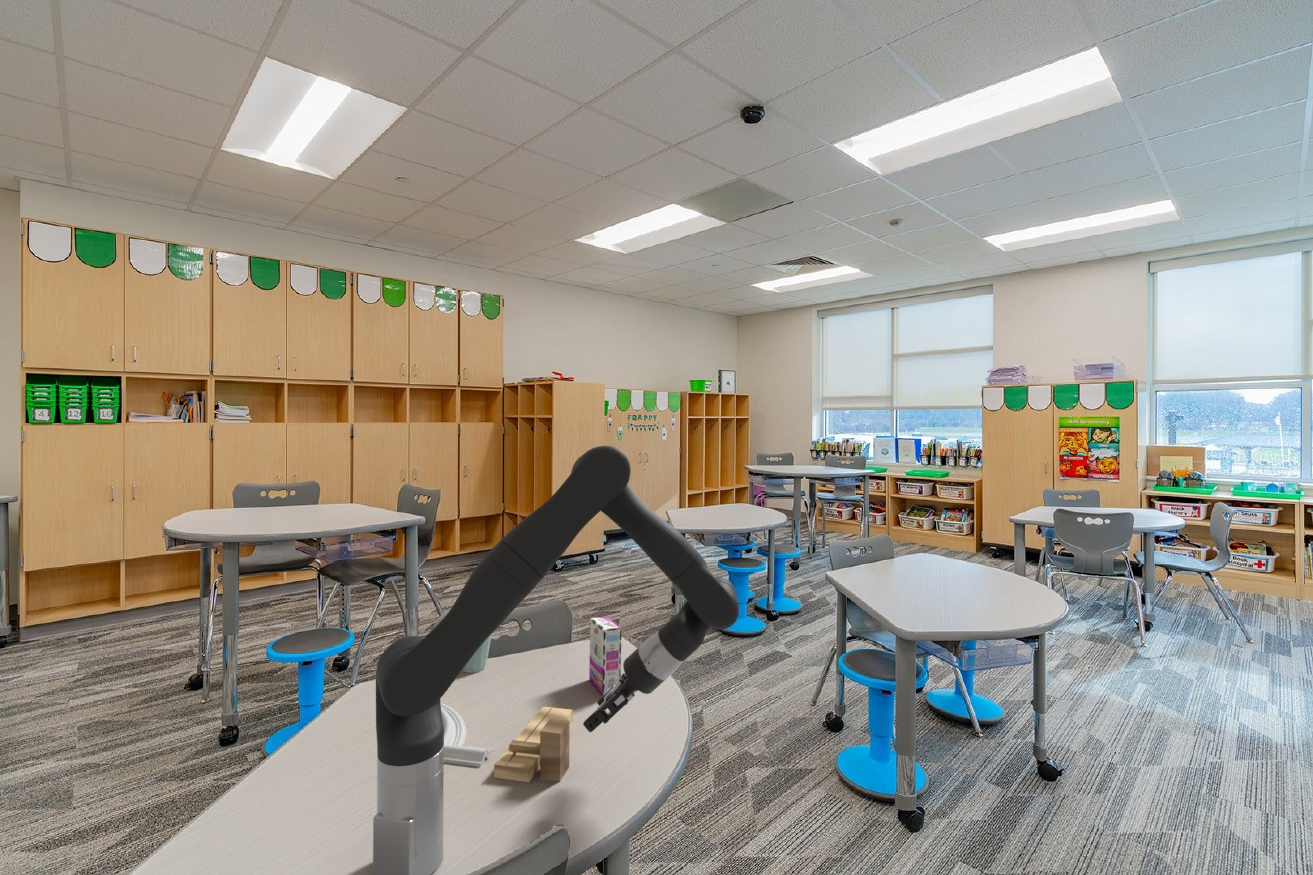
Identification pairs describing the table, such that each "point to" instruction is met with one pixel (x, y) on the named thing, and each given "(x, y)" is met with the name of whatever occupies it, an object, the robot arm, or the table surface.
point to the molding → (460, 741)
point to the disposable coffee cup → (478, 658)
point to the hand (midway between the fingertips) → (594, 716)
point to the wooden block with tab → (549, 749)
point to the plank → (522, 763)
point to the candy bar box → (604, 653)
